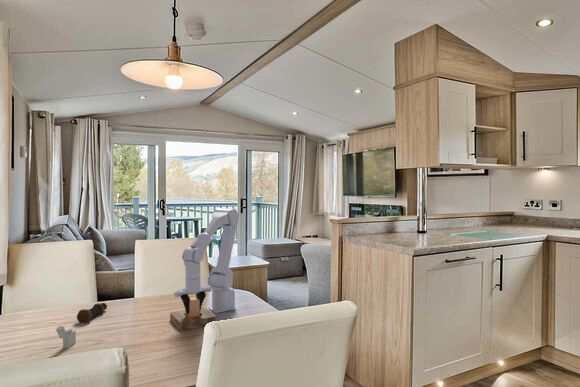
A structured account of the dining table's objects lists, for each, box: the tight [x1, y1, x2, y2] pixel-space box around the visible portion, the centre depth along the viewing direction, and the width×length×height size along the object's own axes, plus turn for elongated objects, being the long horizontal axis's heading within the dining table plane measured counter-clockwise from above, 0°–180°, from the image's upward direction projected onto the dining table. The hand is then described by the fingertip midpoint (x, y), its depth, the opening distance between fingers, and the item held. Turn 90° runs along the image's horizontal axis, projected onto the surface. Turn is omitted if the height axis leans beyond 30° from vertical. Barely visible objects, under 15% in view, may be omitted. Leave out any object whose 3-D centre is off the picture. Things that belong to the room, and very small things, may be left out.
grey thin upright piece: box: [55, 325, 77, 349], centre depth 123 cm, size 7×2×8 cm, turn 173°
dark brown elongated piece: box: [76, 302, 108, 324], centre depth 153 cm, size 6×5×15 cm
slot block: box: [169, 305, 218, 332], centre depth 146 cm, size 14×14×3 cm
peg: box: [186, 296, 200, 318], centre depth 146 cm, size 4×4×8 cm
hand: (193, 312), depth 146 cm, fingers closed on peg, 4 cm apart
